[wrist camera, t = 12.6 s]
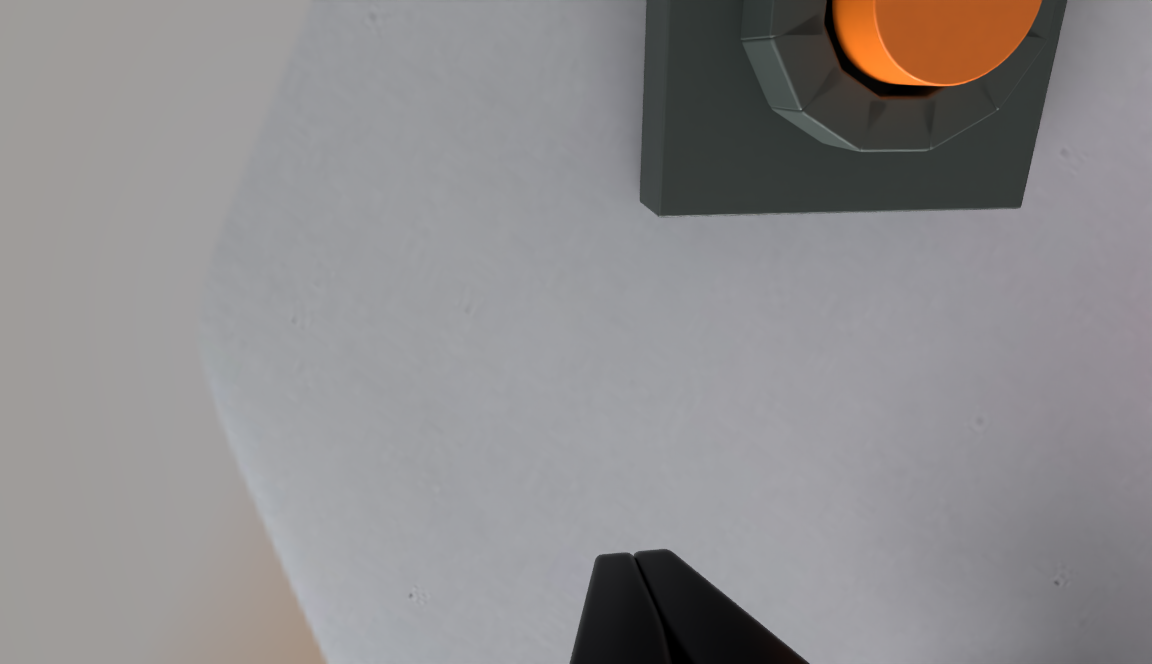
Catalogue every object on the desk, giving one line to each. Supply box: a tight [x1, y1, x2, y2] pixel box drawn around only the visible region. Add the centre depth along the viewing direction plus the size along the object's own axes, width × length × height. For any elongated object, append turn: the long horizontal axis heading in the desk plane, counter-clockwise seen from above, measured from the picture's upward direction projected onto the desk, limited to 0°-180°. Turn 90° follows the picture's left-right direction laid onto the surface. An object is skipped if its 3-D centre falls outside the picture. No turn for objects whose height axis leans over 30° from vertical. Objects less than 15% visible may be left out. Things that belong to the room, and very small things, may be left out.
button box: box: [640, 0, 1067, 217], centre depth 17 cm, size 10×10×4 cm
